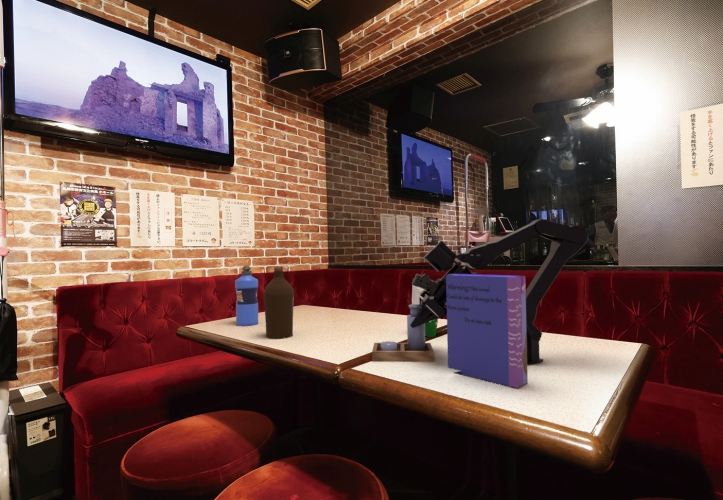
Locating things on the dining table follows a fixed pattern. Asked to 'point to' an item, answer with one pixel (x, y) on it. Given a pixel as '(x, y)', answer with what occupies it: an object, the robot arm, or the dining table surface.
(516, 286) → the purple book
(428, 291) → the robot arm
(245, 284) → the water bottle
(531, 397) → the dining table surface
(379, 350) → the caddy
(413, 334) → the flask
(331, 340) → the dining table surface
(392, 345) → the blue-grey round dome
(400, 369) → the dining table surface
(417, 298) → the milk carton
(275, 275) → the olive oil
